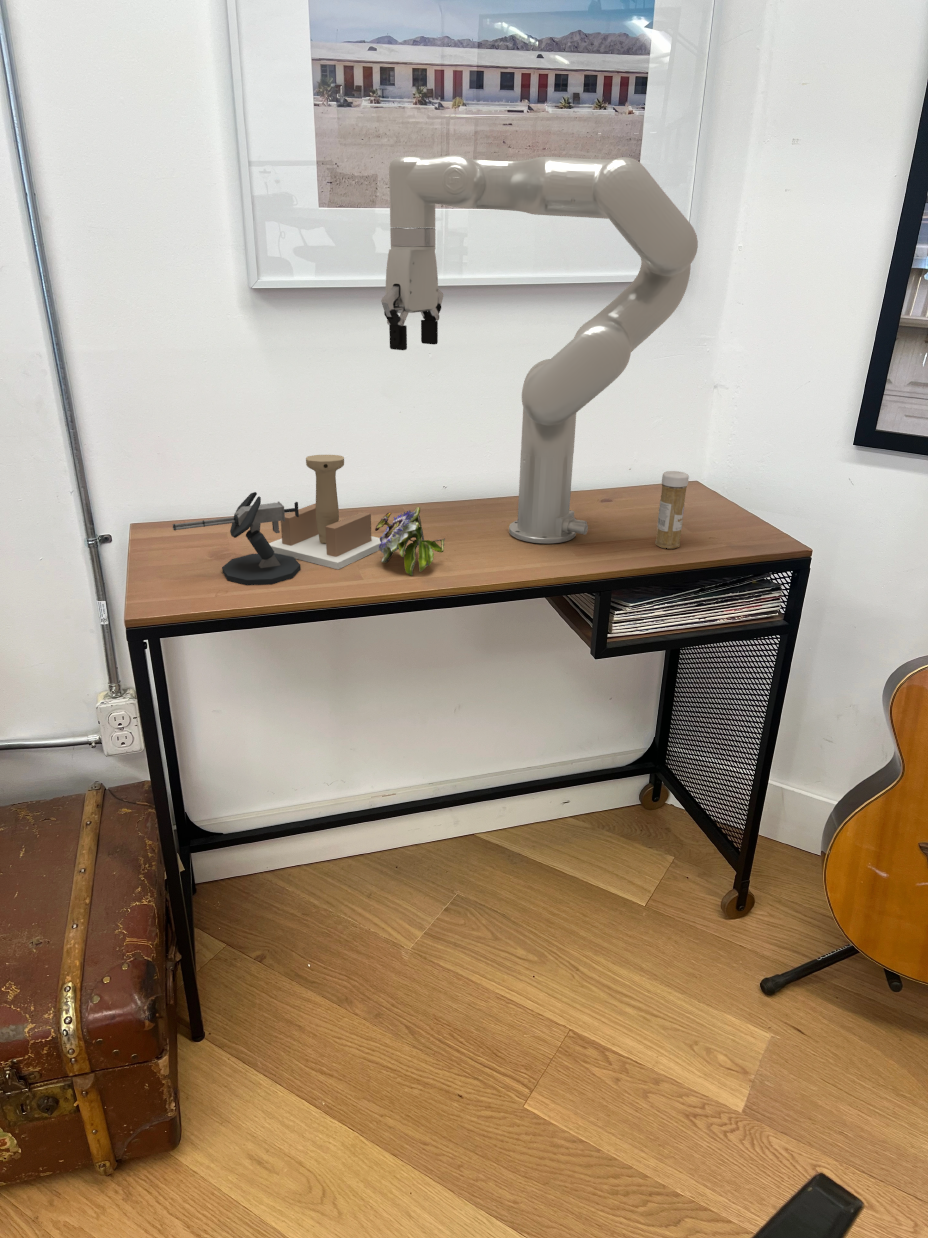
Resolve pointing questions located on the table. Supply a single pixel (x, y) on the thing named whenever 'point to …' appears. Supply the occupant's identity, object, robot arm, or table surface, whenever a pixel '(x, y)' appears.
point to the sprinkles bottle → (671, 509)
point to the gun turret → (255, 543)
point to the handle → (325, 490)
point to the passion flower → (401, 534)
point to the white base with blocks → (342, 539)
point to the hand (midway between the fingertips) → (414, 346)
